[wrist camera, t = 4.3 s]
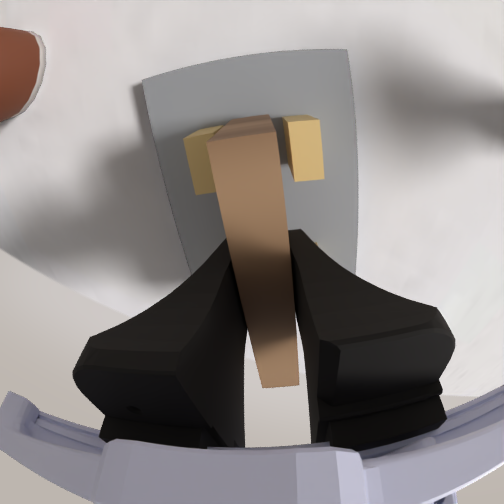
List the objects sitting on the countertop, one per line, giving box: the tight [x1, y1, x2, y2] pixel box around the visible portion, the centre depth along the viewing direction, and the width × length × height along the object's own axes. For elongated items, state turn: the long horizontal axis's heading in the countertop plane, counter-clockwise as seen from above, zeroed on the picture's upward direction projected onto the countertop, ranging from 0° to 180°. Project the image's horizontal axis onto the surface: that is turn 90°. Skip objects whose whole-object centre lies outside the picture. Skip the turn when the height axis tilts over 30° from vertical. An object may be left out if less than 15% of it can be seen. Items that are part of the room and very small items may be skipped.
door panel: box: [206, 114, 299, 388], centre depth 11 cm, size 10×2×6 cm, turn 9°
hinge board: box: [142, 49, 358, 318], centre depth 14 cm, size 16×10×4 cm, turn 8°
